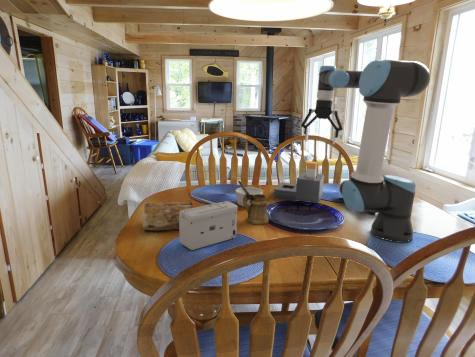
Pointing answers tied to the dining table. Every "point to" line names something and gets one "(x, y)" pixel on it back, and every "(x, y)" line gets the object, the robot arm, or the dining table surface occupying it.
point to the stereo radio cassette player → (207, 224)
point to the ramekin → (241, 193)
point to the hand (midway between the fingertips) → (319, 142)
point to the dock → (301, 189)
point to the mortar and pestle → (255, 207)
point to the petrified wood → (163, 215)
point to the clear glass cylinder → (311, 169)
